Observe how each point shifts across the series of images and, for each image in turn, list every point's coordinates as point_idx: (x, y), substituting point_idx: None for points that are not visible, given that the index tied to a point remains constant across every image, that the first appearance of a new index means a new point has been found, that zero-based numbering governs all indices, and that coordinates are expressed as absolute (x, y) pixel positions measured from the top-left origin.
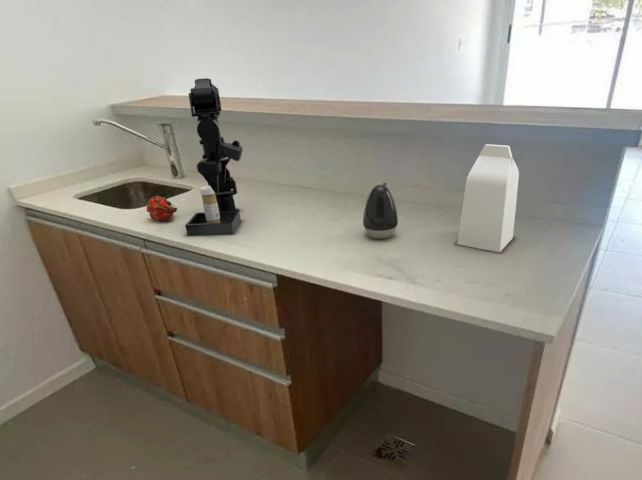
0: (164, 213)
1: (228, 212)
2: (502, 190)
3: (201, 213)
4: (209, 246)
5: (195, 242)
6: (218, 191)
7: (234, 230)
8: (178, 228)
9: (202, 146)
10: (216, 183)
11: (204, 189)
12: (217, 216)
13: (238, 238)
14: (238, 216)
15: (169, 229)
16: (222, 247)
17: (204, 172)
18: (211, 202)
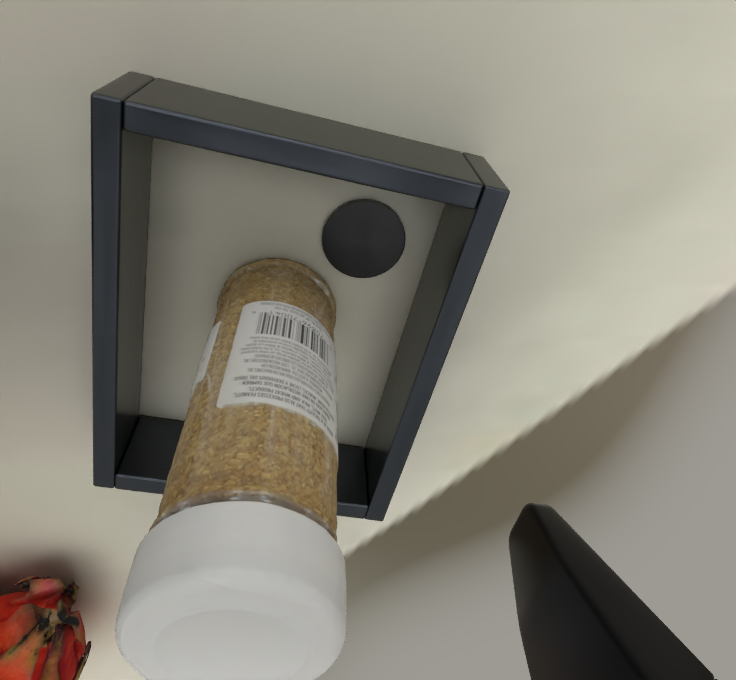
0: (76, 637)
1: (122, 222)
2: None
3: (114, 448)
4: (648, 328)
5: (522, 411)
6: (540, 510)
7: (428, 146)
8: None
9: None
10: (687, 674)
11: (335, 659)
12: (314, 331)
13: (613, 109)
14: (180, 102)
15: None
16: (728, 241)
17: None
18: (332, 464)
